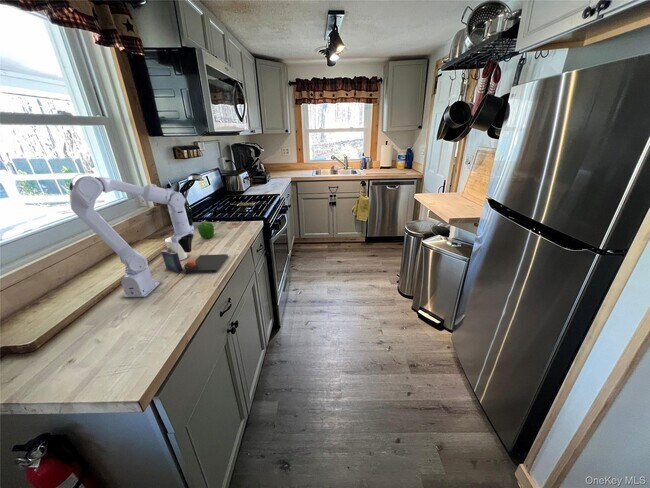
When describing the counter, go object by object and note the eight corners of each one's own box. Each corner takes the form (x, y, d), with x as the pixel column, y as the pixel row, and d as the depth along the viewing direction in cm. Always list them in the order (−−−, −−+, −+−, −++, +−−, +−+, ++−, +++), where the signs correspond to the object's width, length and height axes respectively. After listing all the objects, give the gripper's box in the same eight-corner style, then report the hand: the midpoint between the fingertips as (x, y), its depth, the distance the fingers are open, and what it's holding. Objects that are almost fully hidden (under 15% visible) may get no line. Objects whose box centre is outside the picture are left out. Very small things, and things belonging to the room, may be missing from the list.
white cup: (181, 262, 120) (175, 242, 116) (166, 261, 122) (160, 241, 118) (192, 254, 127) (187, 236, 123) (178, 253, 129) (173, 235, 125)
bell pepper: (198, 237, 149) (194, 220, 145) (213, 233, 154) (209, 217, 150) (202, 241, 143) (198, 224, 139) (217, 237, 147) (213, 221, 143)
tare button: (193, 266, 110) (192, 262, 109) (186, 266, 110) (185, 263, 109) (196, 263, 113) (195, 259, 112) (190, 263, 113) (189, 259, 112)
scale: (215, 272, 110) (214, 266, 108) (183, 273, 110) (181, 267, 109) (228, 256, 124) (226, 251, 123) (199, 257, 124) (197, 252, 123)
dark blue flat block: (165, 269, 114) (158, 247, 110) (171, 266, 116) (164, 244, 112) (179, 273, 110) (172, 250, 106) (185, 270, 113) (179, 247, 109)
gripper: (180, 227, 97) (189, 259, 102) (198, 215, 110) (204, 244, 115) (162, 227, 97) (171, 259, 102) (181, 216, 110) (189, 245, 115)
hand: (188, 251), depth 109 cm, fingers closed
